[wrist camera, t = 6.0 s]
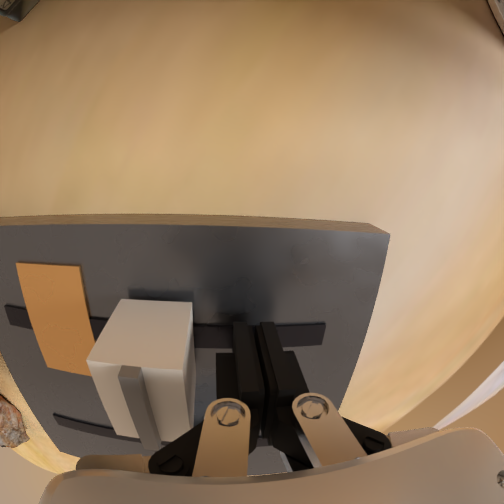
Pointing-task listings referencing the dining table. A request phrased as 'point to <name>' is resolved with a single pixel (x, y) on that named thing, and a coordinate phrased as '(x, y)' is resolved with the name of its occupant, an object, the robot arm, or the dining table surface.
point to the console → (179, 290)
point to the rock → (11, 426)
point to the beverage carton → (16, 8)
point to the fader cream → (147, 370)
